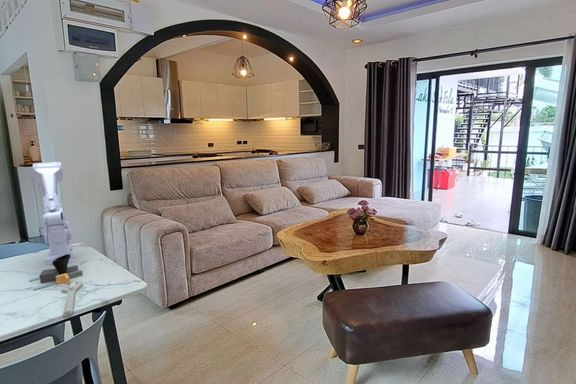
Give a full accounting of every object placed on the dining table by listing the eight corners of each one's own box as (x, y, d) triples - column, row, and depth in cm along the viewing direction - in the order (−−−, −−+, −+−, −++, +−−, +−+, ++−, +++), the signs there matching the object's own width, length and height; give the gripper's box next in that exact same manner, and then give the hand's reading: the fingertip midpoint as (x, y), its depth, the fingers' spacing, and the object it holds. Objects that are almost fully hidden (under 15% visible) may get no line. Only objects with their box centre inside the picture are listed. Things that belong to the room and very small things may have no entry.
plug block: (44, 278, 131) (42, 270, 131) (59, 276, 133) (57, 267, 133) (40, 283, 127) (39, 275, 126) (56, 281, 129) (55, 272, 128)
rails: (29, 281, 129) (29, 280, 129) (47, 276, 133) (47, 275, 133) (33, 291, 121) (33, 289, 121) (53, 285, 125) (53, 284, 125)
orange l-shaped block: (56, 283, 127) (55, 275, 126) (67, 280, 129) (66, 273, 128) (59, 287, 123) (58, 280, 123) (70, 284, 126) (69, 277, 125)
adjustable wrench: (72, 318, 105) (72, 313, 104) (48, 323, 102) (47, 318, 102) (84, 284, 127) (83, 279, 127) (64, 287, 125) (63, 283, 124)
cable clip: (63, 273, 136) (62, 268, 135) (77, 269, 139) (76, 264, 139) (68, 279, 130) (67, 274, 129) (82, 275, 133) (82, 270, 133)
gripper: (58, 235, 136) (62, 266, 139) (34, 248, 122) (40, 283, 124) (76, 235, 136) (80, 266, 139) (54, 247, 122) (59, 282, 125)
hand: (62, 274), depth 132 cm, fingers closed
